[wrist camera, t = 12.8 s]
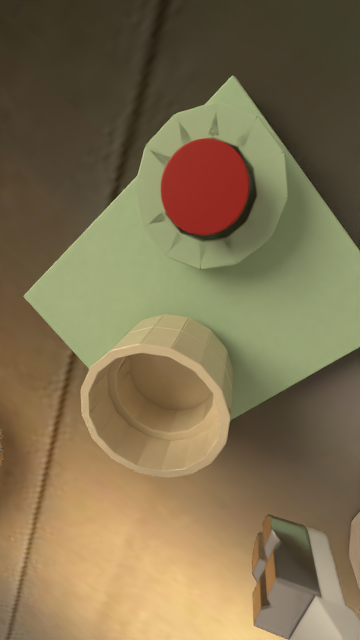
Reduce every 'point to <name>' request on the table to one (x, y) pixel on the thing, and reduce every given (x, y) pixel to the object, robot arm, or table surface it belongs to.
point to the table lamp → (355, 547)
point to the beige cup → (161, 397)
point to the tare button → (205, 186)
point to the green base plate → (216, 262)
